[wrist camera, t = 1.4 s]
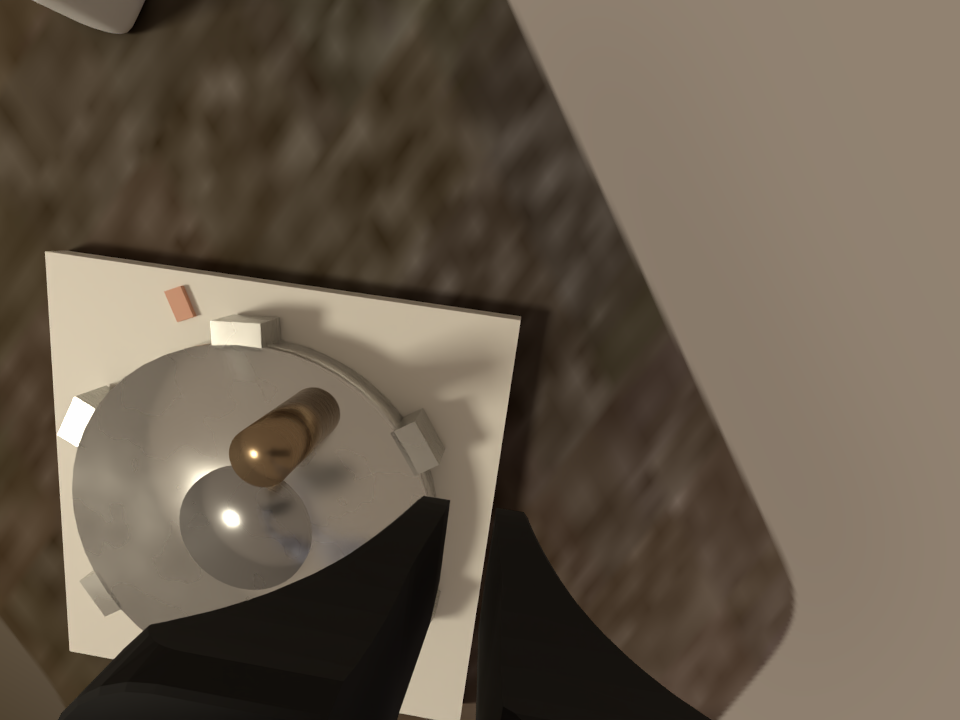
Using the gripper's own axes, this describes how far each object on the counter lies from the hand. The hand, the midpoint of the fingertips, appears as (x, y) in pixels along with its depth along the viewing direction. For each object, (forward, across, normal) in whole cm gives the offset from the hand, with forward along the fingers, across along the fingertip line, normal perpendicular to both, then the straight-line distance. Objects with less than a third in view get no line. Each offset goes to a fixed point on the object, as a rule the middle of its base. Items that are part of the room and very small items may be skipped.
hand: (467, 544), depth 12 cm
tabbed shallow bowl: (+8, +8, +5) cm, 13 cm away
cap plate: (+9, +8, +5) cm, 14 cm away
